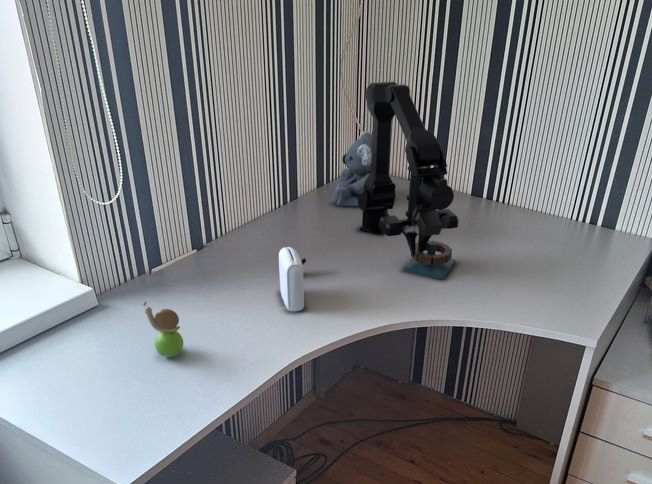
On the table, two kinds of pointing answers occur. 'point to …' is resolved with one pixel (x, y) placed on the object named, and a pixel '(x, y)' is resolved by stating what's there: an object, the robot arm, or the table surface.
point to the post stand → (430, 270)
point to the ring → (433, 259)
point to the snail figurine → (165, 331)
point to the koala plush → (354, 171)
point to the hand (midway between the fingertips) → (416, 254)
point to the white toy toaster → (291, 279)
